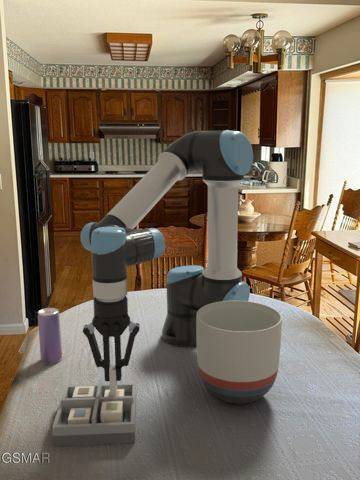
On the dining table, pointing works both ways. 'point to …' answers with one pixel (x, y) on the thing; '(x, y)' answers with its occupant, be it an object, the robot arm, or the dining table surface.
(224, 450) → the dining table surface
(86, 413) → the key
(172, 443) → the dining table surface
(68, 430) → the keypad
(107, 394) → the key
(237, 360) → the planter
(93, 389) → the key
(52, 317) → the beverage can
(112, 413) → the key
